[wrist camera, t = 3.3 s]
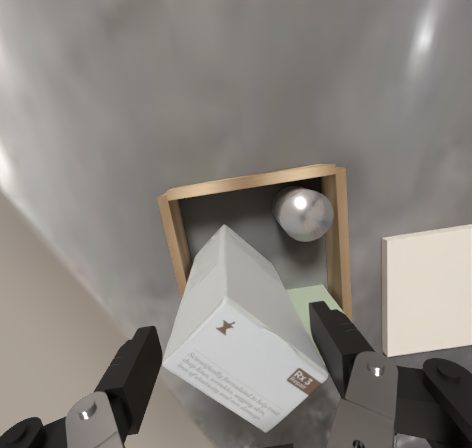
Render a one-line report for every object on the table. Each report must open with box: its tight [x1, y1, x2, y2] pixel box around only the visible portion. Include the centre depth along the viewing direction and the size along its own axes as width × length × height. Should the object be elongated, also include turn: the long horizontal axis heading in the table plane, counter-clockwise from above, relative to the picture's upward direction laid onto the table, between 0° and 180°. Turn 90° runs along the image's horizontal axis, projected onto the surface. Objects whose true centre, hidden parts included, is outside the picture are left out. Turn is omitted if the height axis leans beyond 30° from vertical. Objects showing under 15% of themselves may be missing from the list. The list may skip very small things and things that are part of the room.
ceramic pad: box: [382, 224, 472, 357], centre depth 22 cm, size 12×12×1 cm
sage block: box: [286, 285, 345, 366], centre depth 20 cm, size 4×4×5 cm
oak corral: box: [157, 164, 352, 322], centre depth 20 cm, size 13×16×3 cm
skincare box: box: [162, 225, 328, 433], centre depth 16 cm, size 6×4×12 cm
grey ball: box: [272, 186, 333, 242], centre depth 18 cm, size 4×4×4 cm
